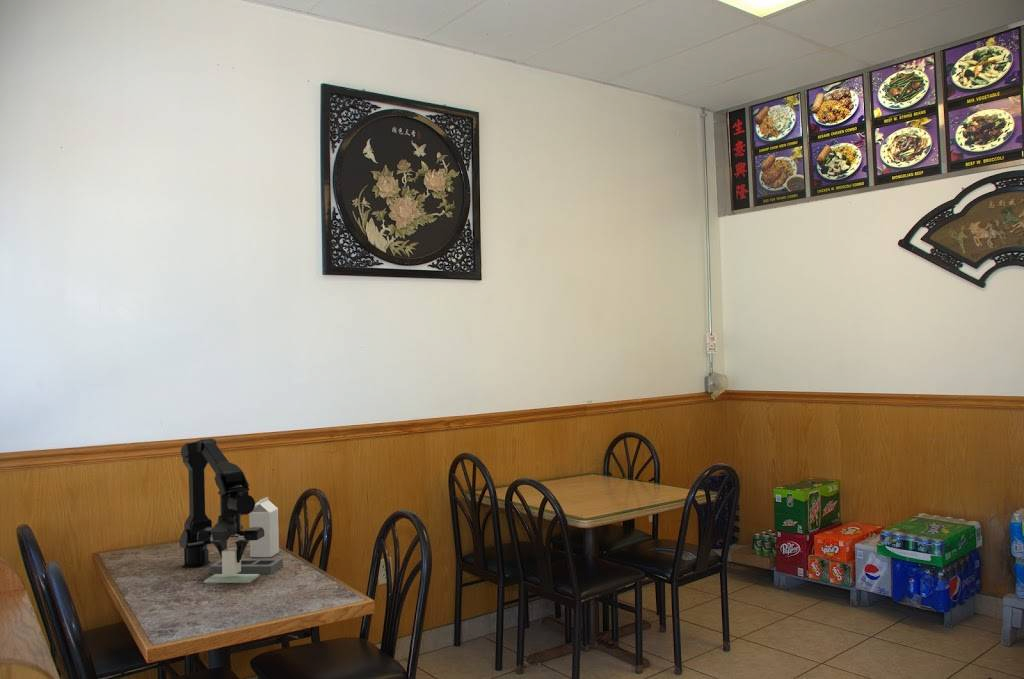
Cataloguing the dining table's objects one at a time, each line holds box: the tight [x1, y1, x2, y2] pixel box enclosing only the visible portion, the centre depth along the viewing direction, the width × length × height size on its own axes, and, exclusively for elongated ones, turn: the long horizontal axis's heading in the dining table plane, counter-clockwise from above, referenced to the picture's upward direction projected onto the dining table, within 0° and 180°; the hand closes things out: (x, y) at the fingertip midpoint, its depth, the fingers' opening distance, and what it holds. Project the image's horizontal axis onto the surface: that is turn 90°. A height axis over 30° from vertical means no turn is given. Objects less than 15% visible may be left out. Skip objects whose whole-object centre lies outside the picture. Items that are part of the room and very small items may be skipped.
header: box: [208, 558, 284, 575], centre depth 242 cm, size 20×9×2 cm, turn 85°
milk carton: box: [248, 496, 280, 558], centre depth 261 cm, size 7×7×19 cm
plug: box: [221, 547, 241, 575], centre depth 233 cm, size 4×4×7 cm
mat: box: [203, 574, 260, 584], centre depth 232 cm, size 14×7×1 cm, turn 84°
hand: (231, 562), depth 233 cm, fingers closed on plug, 4 cm apart
